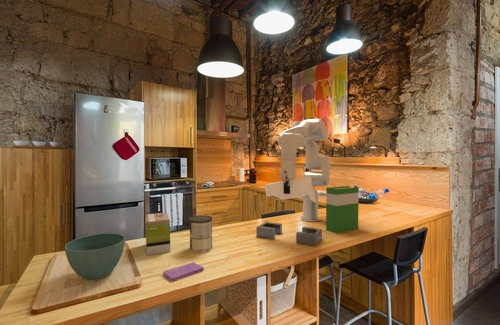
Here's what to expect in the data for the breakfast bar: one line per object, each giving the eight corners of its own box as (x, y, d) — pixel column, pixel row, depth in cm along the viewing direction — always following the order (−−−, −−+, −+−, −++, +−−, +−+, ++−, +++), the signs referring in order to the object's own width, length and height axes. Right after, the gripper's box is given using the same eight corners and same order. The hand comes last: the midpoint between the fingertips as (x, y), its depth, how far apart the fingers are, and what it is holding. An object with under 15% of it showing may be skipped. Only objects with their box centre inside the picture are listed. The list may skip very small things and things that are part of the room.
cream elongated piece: (314, 203, 122) (309, 177, 123) (267, 208, 134) (263, 184, 135) (317, 201, 127) (312, 176, 128) (272, 206, 139) (267, 183, 140)
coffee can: (185, 248, 117) (185, 217, 117) (204, 242, 124) (204, 214, 124) (197, 254, 110) (197, 221, 109) (217, 248, 117) (217, 217, 117)
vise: (266, 230, 144) (266, 221, 144) (321, 238, 130) (321, 229, 130) (256, 236, 134) (256, 226, 134) (315, 246, 119) (315, 235, 119)
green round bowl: (130, 278, 89) (129, 243, 89) (65, 294, 79) (64, 254, 78) (121, 260, 104) (120, 230, 104) (65, 272, 93) (65, 239, 93)
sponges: (163, 276, 91) (163, 271, 91) (194, 265, 100) (194, 261, 100) (172, 283, 86) (172, 277, 86) (204, 271, 95) (204, 266, 95)
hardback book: (347, 225, 153) (348, 185, 153) (358, 229, 147) (358, 187, 146) (326, 230, 145) (326, 187, 144) (336, 233, 139) (336, 189, 138)
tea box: (145, 244, 123) (145, 213, 122) (167, 241, 127) (167, 211, 126) (146, 255, 109) (145, 221, 108) (170, 252, 113) (170, 218, 112)
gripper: (287, 157, 140) (287, 190, 141) (275, 157, 125) (275, 194, 126) (301, 157, 136) (300, 191, 137) (290, 157, 121) (290, 196, 122)
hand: (288, 192), depth 131 cm, fingers closed on cream elongated piece, 5 cm apart
